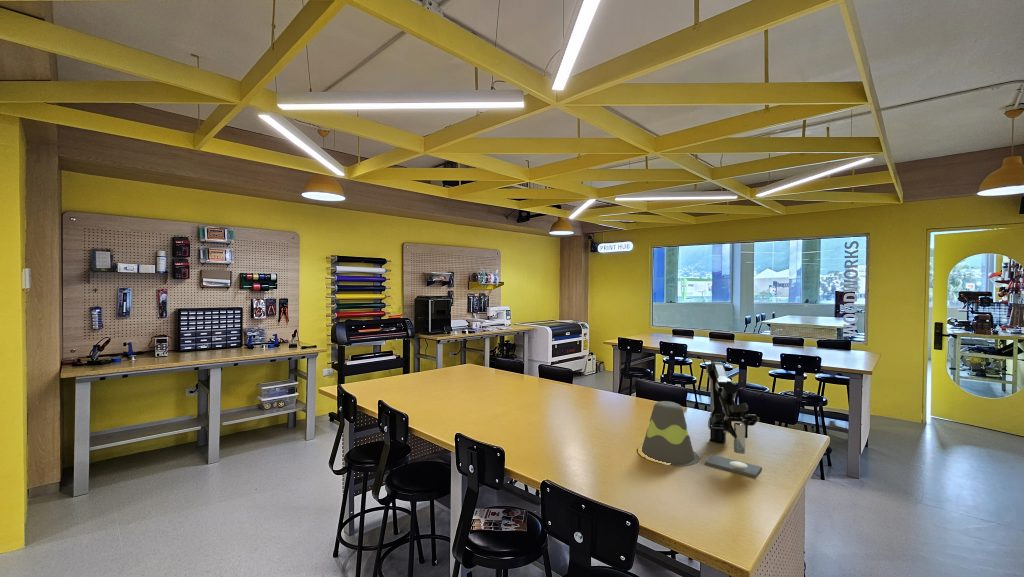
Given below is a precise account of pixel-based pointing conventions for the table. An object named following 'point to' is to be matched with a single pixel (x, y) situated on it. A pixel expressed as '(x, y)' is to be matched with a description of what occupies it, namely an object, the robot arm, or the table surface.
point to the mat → (733, 466)
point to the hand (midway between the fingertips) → (741, 437)
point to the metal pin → (739, 438)
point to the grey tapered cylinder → (669, 436)
